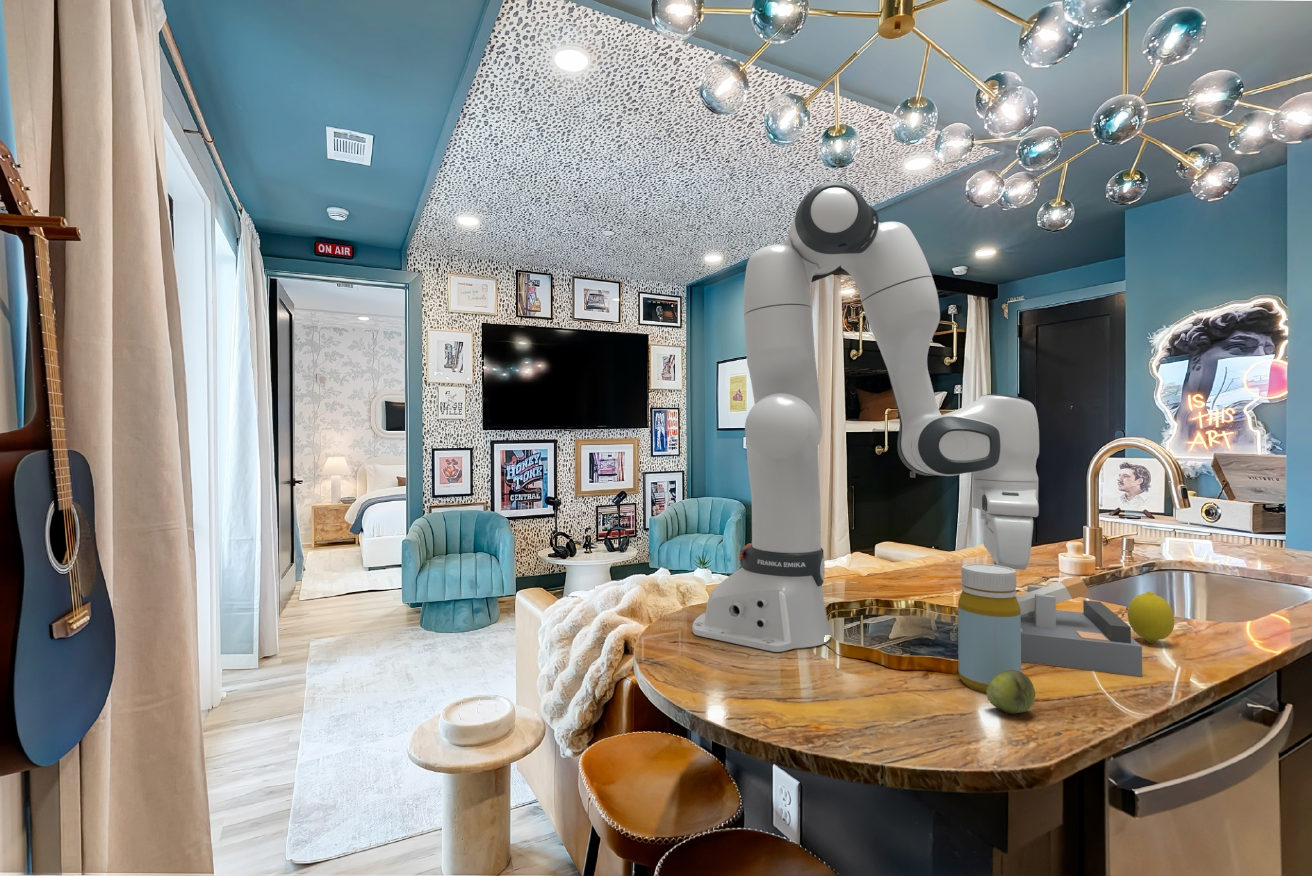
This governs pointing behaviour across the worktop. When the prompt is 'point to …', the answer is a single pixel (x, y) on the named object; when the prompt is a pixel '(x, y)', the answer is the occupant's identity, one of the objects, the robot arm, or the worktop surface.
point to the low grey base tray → (1078, 638)
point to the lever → (1054, 593)
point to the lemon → (1151, 617)
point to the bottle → (988, 624)
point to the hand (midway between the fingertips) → (1002, 587)
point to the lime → (1011, 692)
